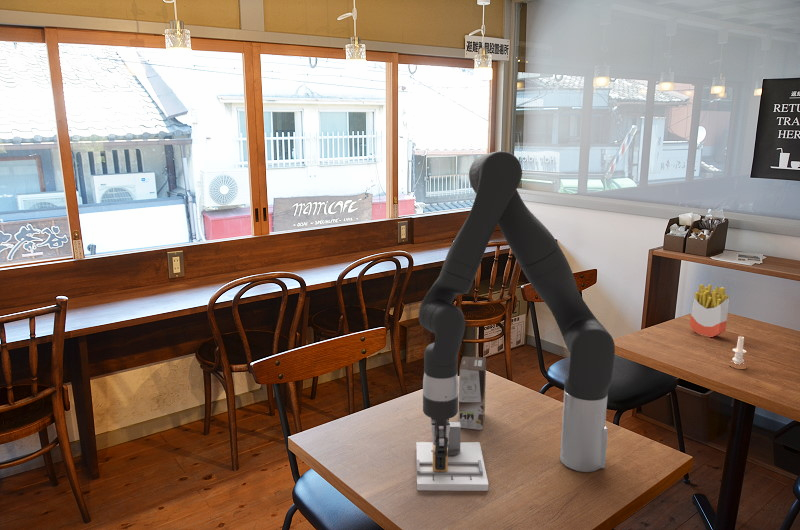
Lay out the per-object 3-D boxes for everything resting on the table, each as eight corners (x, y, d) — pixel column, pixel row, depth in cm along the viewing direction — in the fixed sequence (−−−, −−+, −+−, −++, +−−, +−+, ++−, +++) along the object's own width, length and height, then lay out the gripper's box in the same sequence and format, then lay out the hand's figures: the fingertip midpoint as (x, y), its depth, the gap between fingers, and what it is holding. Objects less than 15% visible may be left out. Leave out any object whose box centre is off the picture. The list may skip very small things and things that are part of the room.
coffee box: (483, 430, 151) (484, 370, 147) (457, 428, 152) (458, 368, 149) (485, 413, 160) (487, 356, 156) (461, 411, 161) (462, 355, 157)
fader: (446, 464, 133) (447, 442, 132) (447, 471, 130) (447, 449, 129) (432, 464, 133) (432, 442, 132) (432, 471, 130) (433, 449, 129)
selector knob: (459, 444, 141) (459, 417, 140) (461, 456, 136) (461, 428, 135) (437, 444, 141) (437, 417, 140) (438, 456, 136) (438, 428, 135)
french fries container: (717, 340, 212) (723, 291, 208) (688, 331, 221) (693, 284, 216) (724, 337, 214) (730, 289, 210) (695, 329, 223) (701, 282, 219)
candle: (750, 369, 187) (754, 338, 184) (733, 369, 187) (737, 338, 184) (741, 363, 192) (745, 332, 189) (724, 363, 192) (728, 332, 190)
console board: (479, 448, 143) (479, 438, 142) (488, 490, 126) (488, 480, 126) (416, 447, 143) (416, 438, 143) (417, 490, 127) (417, 479, 126)
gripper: (460, 407, 121) (459, 483, 125) (456, 378, 134) (454, 448, 138) (423, 407, 121) (423, 483, 125) (422, 378, 134) (422, 447, 138)
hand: (439, 464), depth 131 cm, fingers closed on fader, 2 cm apart
